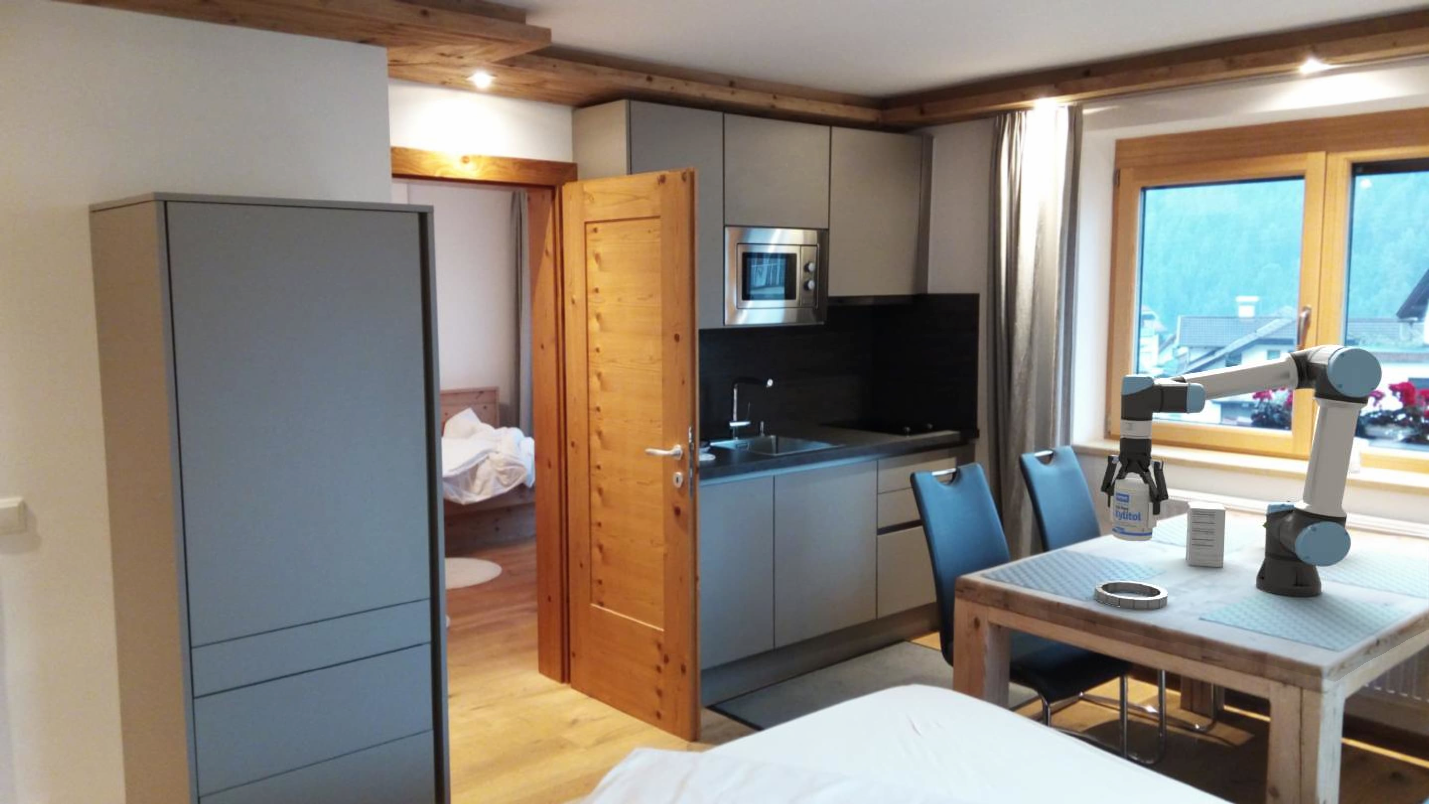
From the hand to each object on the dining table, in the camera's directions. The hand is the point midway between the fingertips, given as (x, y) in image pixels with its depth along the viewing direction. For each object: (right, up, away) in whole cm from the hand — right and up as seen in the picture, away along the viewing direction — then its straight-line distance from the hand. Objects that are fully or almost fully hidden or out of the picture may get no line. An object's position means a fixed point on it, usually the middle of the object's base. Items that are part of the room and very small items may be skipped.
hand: (1132, 523), depth 266 cm
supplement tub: (0, -4, 0) cm, 4 cm away
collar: (0, -20, +2) cm, 20 cm away
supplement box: (+35, -16, +37) cm, 54 cm away
